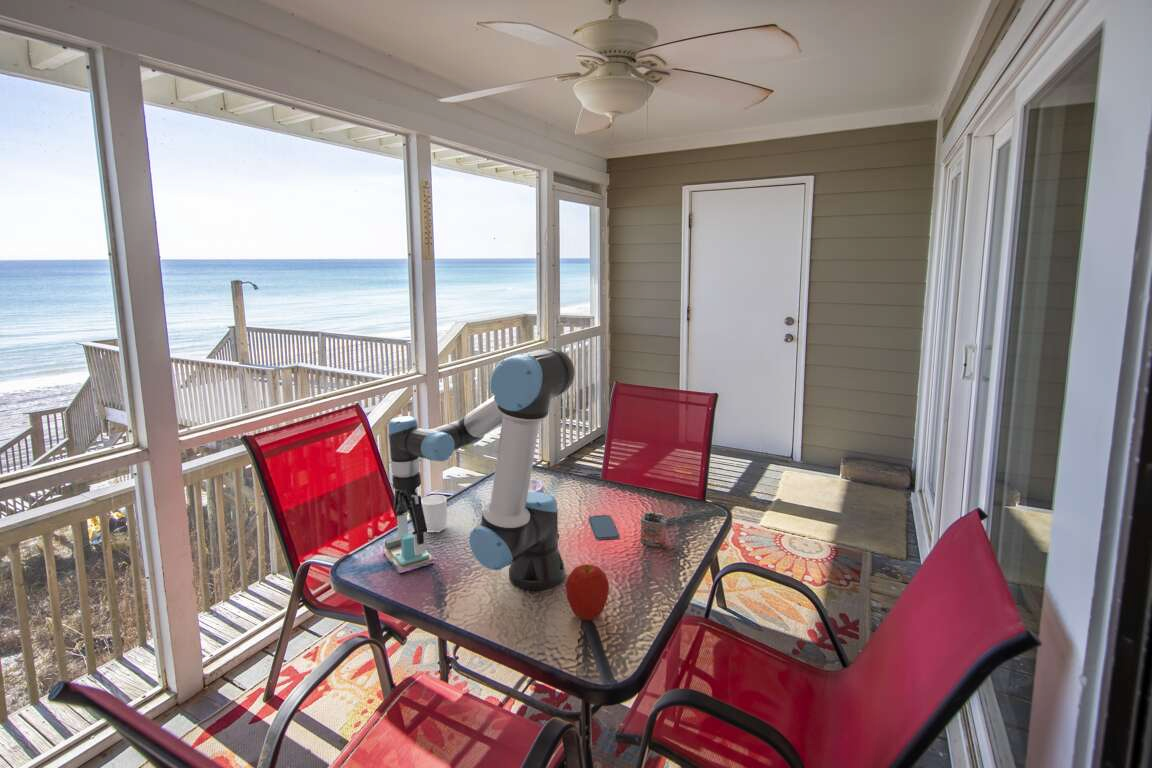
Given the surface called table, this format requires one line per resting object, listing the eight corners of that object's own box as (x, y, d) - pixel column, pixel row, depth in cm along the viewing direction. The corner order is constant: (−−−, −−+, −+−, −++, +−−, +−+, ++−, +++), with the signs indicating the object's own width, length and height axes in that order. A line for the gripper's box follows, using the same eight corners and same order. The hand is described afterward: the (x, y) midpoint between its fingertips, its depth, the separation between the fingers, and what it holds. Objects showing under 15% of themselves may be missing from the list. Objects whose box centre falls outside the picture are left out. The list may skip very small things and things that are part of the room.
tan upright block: (638, 542, 178) (638, 512, 176) (642, 538, 181) (642, 507, 179) (663, 548, 174) (664, 517, 172) (667, 543, 177) (668, 512, 175)
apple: (607, 603, 147) (607, 552, 144) (610, 627, 137) (611, 573, 134) (565, 604, 146) (564, 553, 144) (566, 629, 137) (565, 574, 134)
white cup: (433, 536, 183) (432, 506, 181) (417, 529, 188) (415, 500, 186) (453, 527, 190) (451, 498, 188) (437, 521, 194) (435, 492, 192)
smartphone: (595, 538, 180) (588, 515, 194) (595, 543, 180) (588, 520, 195) (619, 536, 181) (610, 514, 195) (619, 541, 181) (610, 518, 196)
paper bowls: (494, 502, 208) (493, 481, 207) (534, 495, 215) (534, 475, 213) (508, 519, 195) (507, 497, 193) (550, 511, 201) (550, 489, 200)
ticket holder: (434, 563, 167) (433, 549, 166) (399, 574, 161) (398, 560, 160) (416, 544, 178) (415, 531, 177) (383, 554, 173) (382, 540, 172)
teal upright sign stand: (429, 557, 167) (427, 535, 165) (401, 565, 162) (399, 543, 161) (422, 550, 171) (421, 528, 169) (395, 558, 166) (393, 536, 165)
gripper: (436, 482, 154) (441, 558, 158) (404, 458, 173) (408, 525, 178) (408, 489, 149) (414, 566, 154) (378, 463, 169) (384, 532, 173)
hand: (411, 544), depth 166 cm, fingers open, 12 cm apart
